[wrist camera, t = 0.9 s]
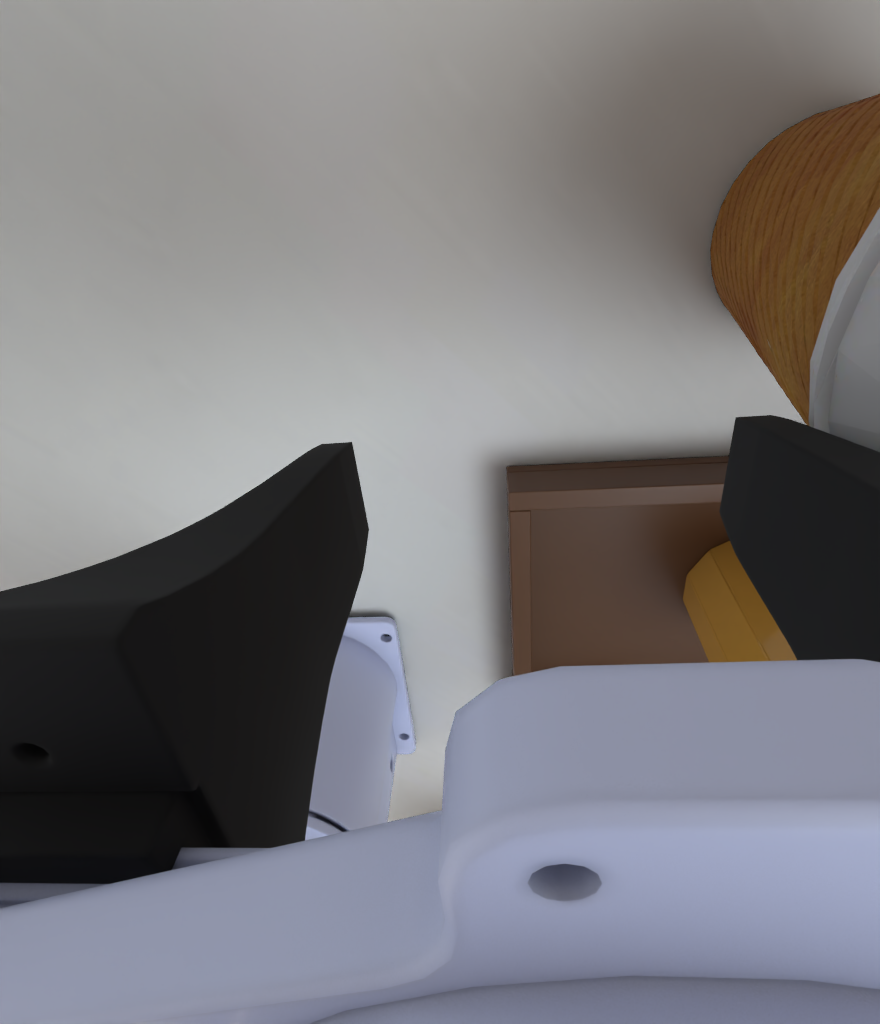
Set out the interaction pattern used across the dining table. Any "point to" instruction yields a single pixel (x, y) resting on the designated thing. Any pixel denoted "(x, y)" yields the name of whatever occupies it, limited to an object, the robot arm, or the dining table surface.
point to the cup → (731, 611)
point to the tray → (608, 559)
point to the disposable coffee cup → (811, 266)
